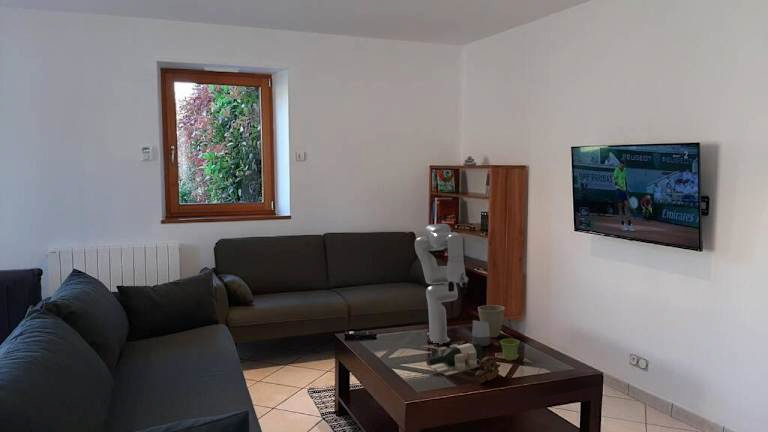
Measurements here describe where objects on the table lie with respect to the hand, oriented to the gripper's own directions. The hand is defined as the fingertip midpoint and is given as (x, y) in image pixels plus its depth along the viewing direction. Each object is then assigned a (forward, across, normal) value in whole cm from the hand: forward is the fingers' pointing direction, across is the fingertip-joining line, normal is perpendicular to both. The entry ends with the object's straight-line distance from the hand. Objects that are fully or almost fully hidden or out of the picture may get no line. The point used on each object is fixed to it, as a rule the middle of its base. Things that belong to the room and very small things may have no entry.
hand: (457, 292), depth 290 cm
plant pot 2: (+34, +16, +19) cm, 42 cm away
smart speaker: (+34, -10, +22) cm, 41 cm away
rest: (+33, +8, -10) cm, 36 cm away
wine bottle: (+28, +8, +6) cm, 30 cm away
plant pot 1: (+34, -20, +38) cm, 54 cm away
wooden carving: (+34, +32, -8) cm, 47 cm away
